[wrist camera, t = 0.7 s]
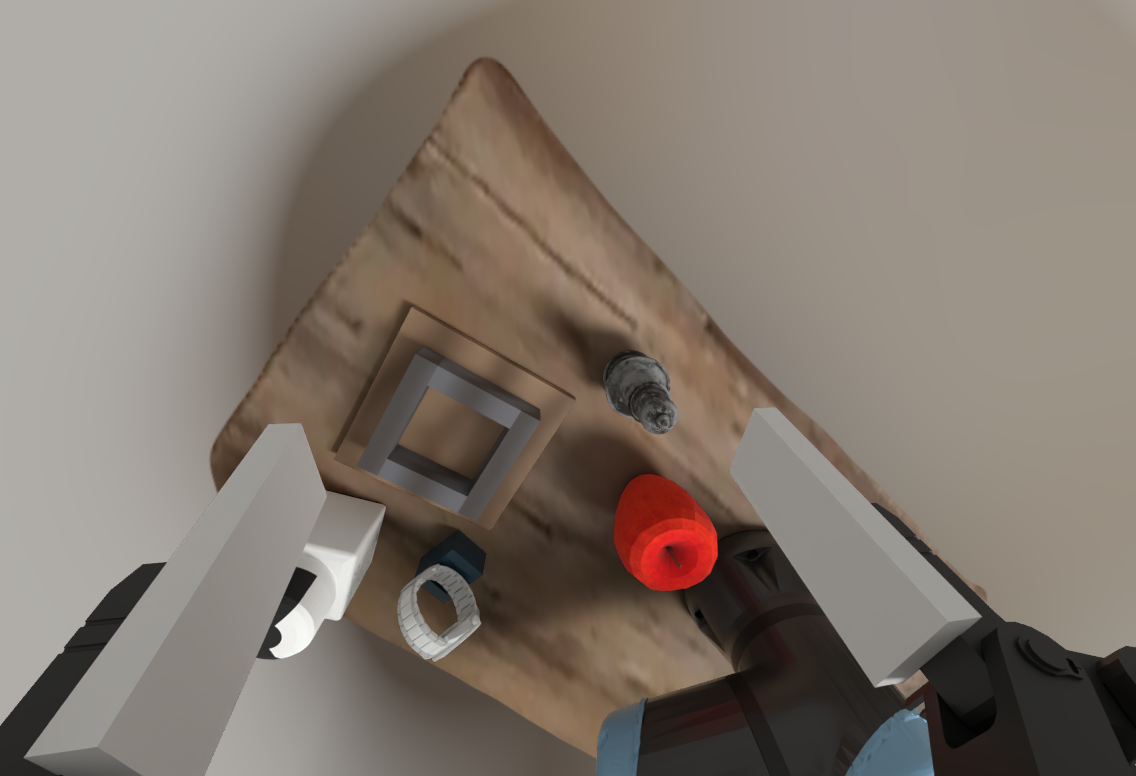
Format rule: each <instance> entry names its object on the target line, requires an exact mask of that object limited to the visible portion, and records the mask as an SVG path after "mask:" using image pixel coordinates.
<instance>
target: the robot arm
mask: <svg viewBox="0 0 1136 776" xmlns="http://www.w3.org/2000/svg"><path fill="white" fill-rule="evenodd" d="M729 472H730V474H731V475H732V477H733V478H734V480H735V481H736V483H737V484H738V485H739V487H740V488H741V490H742V491H743V493H744V494H745V496H746V497H747V499H748V500H749V502H750V503H751V505H752V506H753V508H754V509H755V511H756V512H757V514H758V515H759V517H760V518H761V520H762V521H763V523H764V524H765V526H766V527H767V528H768V530H769V531H747V532H742V533H738V534H734V535H732V536H729V537H727V538H724V539H722V540H720V541H719V542H717V551H718V556H717V559H716V561H715V563H714V566H713V568H712V570H711V573H710V574H709V575H708V576H707V577H706V578H705V579H704V580H703V581H701V582H699V583H697V584H695V585H693V586H691V587H688V588H685V592H684V593H685V600H686V604H687V606H688V609H689V611H690V613H691V615H692V618H693V620H694V622H695V624H696V625H697V627H698V628H699V629H700V631H701V632H702V633H703V634H704V635H705V636H706V637H707V638H708V640H709V641H710V642H711V643H712V644H713V645H714V646H715V647H716V648H717V649H718V651H719V652H720V653H721V654H722V655H723V656H724V657H725V658H726V659H727V660H728V662H729V663H730V664H731V665H732V667H733V669H734V671H735V673H734V674H731V675H727V676H724V677H720V678H717V679H714V680H710V681H707V682H704V683H700V684H697V685H694V686H690V687H687V688H684V689H680V690H677V691H674V692H670V693H667V694H664V695H660V696H657V697H653V698H650V699H648V698H647V697H644V698H642V699H641V701H640V702H638V703H635V704H632V705H629V706H627V707H624V708H621V709H619V710H616V711H614V712H612V713H610V714H609V715H608V716H607V717H606V718H605V720H604V721H603V723H602V726H601V728H600V732H599V736H598V744H597V776H1136V766H1135V764H1136V647H1129V646H1125V647H1123V648H1121V649H1119V650H1117V651H1115V652H1114V653H1112V654H1110V655H1109V656H1107V657H1105V658H1101V657H1096V656H1091V655H1087V654H1083V653H1078V652H1073V651H1069V650H1066V649H1064V648H1063V647H1062V646H1060V645H1059V644H1058V643H1056V642H1055V641H1053V640H1052V639H1051V638H1050V637H1048V636H1047V635H1044V634H1043V633H1041V632H1039V631H1037V630H1035V629H1034V628H1032V627H1029V626H1026V625H1023V624H1020V623H1017V622H1005V621H1004V620H1003V619H1002V618H1001V617H1000V616H999V615H997V614H996V613H995V612H994V611H993V610H992V609H991V608H990V607H989V606H988V605H987V604H986V603H985V602H984V601H983V600H982V599H981V598H980V597H979V596H978V595H977V594H976V593H975V592H974V591H973V590H972V589H971V588H969V587H968V586H967V585H966V584H965V583H964V582H963V581H962V580H961V579H960V578H959V577H958V576H957V575H956V574H955V573H954V572H953V571H952V570H951V569H950V568H949V567H948V566H947V565H946V564H945V563H944V562H943V561H942V560H941V559H940V558H939V557H938V556H937V555H933V554H932V550H931V549H930V548H929V547H928V546H927V545H926V544H925V543H924V542H922V541H921V540H918V539H917V536H916V535H915V534H914V533H913V532H912V531H911V530H910V529H909V528H908V527H907V526H906V525H905V524H904V523H903V522H902V521H901V520H900V519H899V518H898V517H896V516H895V515H893V514H892V513H890V512H889V511H887V510H886V509H884V508H883V507H881V506H880V505H878V504H877V503H869V502H868V501H867V500H866V499H865V498H864V496H863V495H862V494H861V493H860V492H859V491H858V490H857V489H856V488H855V487H854V486H853V485H852V484H851V483H850V482H849V481H848V480H847V479H846V478H845V477H844V476H843V475H842V474H841V473H840V472H839V471H838V470H837V469H836V468H835V467H834V466H833V465H832V464H831V463H830V462H829V461H828V460H827V459H826V458H825V457H824V456H823V455H822V454H821V453H820V452H819V451H818V450H817V449H816V448H815V447H814V446H813V445H812V444H811V443H810V442H809V441H808V440H807V439H806V438H805V437H804V436H803V435H802V434H801V433H800V432H799V431H798V430H797V429H796V428H795V427H794V426H793V425H792V424H791V423H790V422H789V421H788V420H787V419H786V417H785V416H784V415H783V414H782V413H781V412H780V411H779V410H778V409H777V408H754V410H753V412H752V415H751V417H750V420H749V422H748V425H747V427H746V430H745V432H744V435H743V437H742V440H741V442H740V444H739V447H738V449H737V452H736V454H735V457H734V459H733V462H732V464H731V467H730V469H729ZM326 497H327V494H326V491H325V488H324V486H323V483H322V480H321V477H320V474H319V472H318V469H317V466H316V463H315V461H314V458H313V455H312V452H311V449H310V447H309V444H308V441H307V438H306V435H305V433H304V430H303V427H302V424H301V423H291V424H268V426H267V427H266V429H265V430H264V431H263V433H262V434H261V435H260V437H259V438H258V439H257V441H256V442H255V443H254V445H253V446H252V448H251V449H250V450H249V452H248V453H247V454H246V456H245V457H244V458H243V460H242V461H241V463H240V464H239V465H238V467H237V468H236V469H235V471H234V472H233V473H232V475H231V476H230V478H229V479H228V480H227V482H226V483H225V484H224V486H223V487H222V488H221V490H220V491H219V492H218V494H217V495H216V497H215V498H214V499H213V501H212V502H211V503H210V505H209V506H208V508H207V509H206V510H205V512H204V513H203V514H202V516H201V517H200V518H199V520H198V521H197V523H196V524H195V525H194V527H193V528H192V529H191V531H190V532H189V533H188V535H187V536H186V538H185V539H184V540H183V541H182V543H181V544H180V546H179V547H178V548H177V550H176V551H175V552H174V554H173V555H172V557H171V558H170V559H169V561H168V562H164V563H152V564H143V565H141V567H139V568H138V569H137V570H135V571H134V572H133V573H132V574H130V575H129V576H128V577H126V578H125V579H124V580H123V581H122V582H120V583H119V584H118V585H117V586H115V587H114V588H113V589H111V590H110V592H109V593H108V594H107V595H106V596H105V597H104V599H103V600H102V601H101V602H100V604H99V605H98V606H97V607H96V609H95V610H94V611H93V612H92V614H91V615H90V616H89V617H88V618H87V620H86V621H85V622H86V624H85V626H84V627H80V628H79V629H78V631H77V632H76V633H75V634H74V636H73V637H72V638H71V639H70V641H69V642H68V643H67V644H66V646H65V647H64V648H65V649H64V652H63V653H62V654H58V655H57V657H56V658H55V659H54V660H53V662H52V663H51V664H50V665H49V667H48V668H47V669H46V670H45V671H44V673H43V674H42V675H41V676H40V678H39V679H38V680H37V681H36V682H35V684H34V685H33V686H32V687H31V689H30V690H29V691H28V692H27V694H26V695H25V696H24V697H23V698H22V700H21V701H20V702H19V703H18V705H17V706H16V707H15V708H14V710H13V711H12V712H11V713H10V715H9V716H8V717H7V718H6V719H5V721H4V722H3V723H2V724H1V726H0V776H204V775H205V773H206V770H207V768H208V766H209V764H210V762H211V759H212V757H213V755H214V752H215V750H216V748H217V745H218V743H219V741H220V739H221V736H222V734H223V732H224V730H225V727H226V725H227V723H228V721H229V718H230V716H231V714H232V711H233V709H234V707H235V704H236V702H237V700H238V698H239V695H240V693H241V691H242V689H243V686H244V684H245V682H246V679H247V677H248V675H249V673H250V670H251V668H252V666H253V664H254V661H255V659H256V657H257V654H258V652H259V650H260V648H261V645H262V643H263V641H264V639H265V636H266V634H267V632H268V629H269V627H270V625H271V623H272V620H273V618H274V616H275V613H276V611H277V609H278V607H279V604H280V602H281V600H282V598H283V595H284V593H285V591H286V588H287V586H288V584H289V582H290V579H291V577H292V575H293V572H294V570H295V568H296V566H297V563H298V561H299V559H300V557H301V554H302V552H303V550H304V547H305V545H306V543H307V541H308V538H309V536H310V534H311V531H312V529H313V527H314V525H315V522H316V520H317V518H318V516H319V513H320V511H321V509H322V506H323V504H324V502H325V500H326ZM919 669H920V670H921V671H922V673H923V674H924V675H925V677H926V678H927V679H928V680H929V681H928V682H927V683H926V684H925V685H923V686H922V687H921V688H920V689H918V690H917V691H915V692H914V693H913V694H912V695H910V697H908V698H907V699H906V698H905V696H904V695H903V694H902V693H901V692H900V691H899V689H898V688H897V687H896V686H895V685H894V684H897V683H903V682H905V681H906V680H907V679H909V678H910V677H911V676H912V675H913V674H915V673H916V672H917V671H918V670H919ZM923 702H924V703H925V709H923V710H922V712H921V713H920V712H919V711H918V710H917V709H915V708H916V707H917V706H919V705H920V704H921V703H923ZM926 721H927V722H926Z"/></svg>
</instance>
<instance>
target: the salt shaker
mask: <svg viewBox="0 0 1136 776" xmlns="http://www.w3.org/2000/svg"><path fill="white" fill-rule="evenodd" d="M603 384H604V387H605V389H606V397H607V400H608V402H609V404H610V406H611V407H612V408H613V410H614V411H616V412H617V413H618V414H620V415H622V416H625V417H627V418H634V419H635V420H636V421H638V422H640V423H642V425H643V426H644V428H645V429H646V430H648V431H649V432H651V433H653V434H664V433H666V432H668V431H670V430H671V429H672V428H673V427H674V426H675V424H676V422H677V419H678V412H677V408H676V406H675V405H674V403H673V402H672V401H671V397H670V394H669V390H670V379H669V376H668V373H667V371H666V370H665V368H664V367H663V366H662V365H661V364H660V363H659V362H657V361H656V360H654V359H652V358H649V357H647V356H646V355H645V354H643V353H640V352H637V351H625V352H622V353H619V354H617V355H616V356H614V357H613V358H612V359H611V360H610V361H609V362H608V363H607V365H606V367H605V369H604V373H603Z"/></svg>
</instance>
